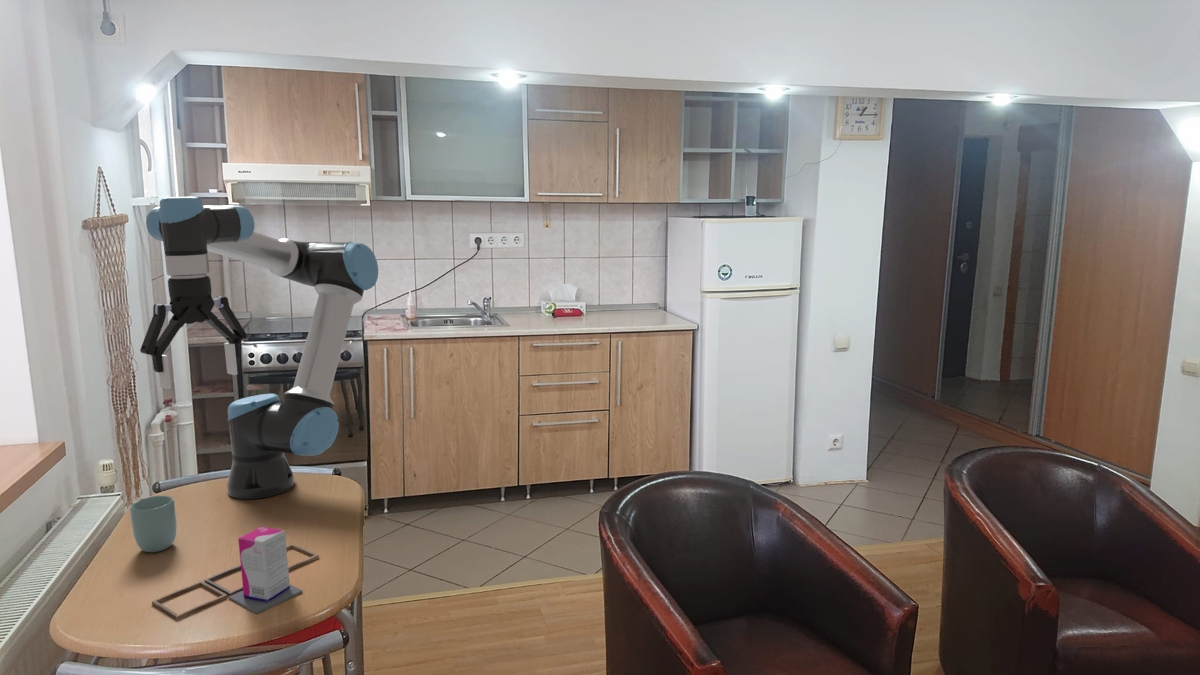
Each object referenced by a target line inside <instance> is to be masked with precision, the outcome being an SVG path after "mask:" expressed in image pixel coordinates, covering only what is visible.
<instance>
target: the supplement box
mask: <svg viewBox="0 0 1200 675" xmlns="http://www.w3.org/2000/svg"><path fill="white" fill-rule="evenodd" d="M237 539H238V548H239V549H238V551H239V558H240V559H239V560H240V565H241V569H240V571H241V580H242V581H241V582H242V587H243V594H244V598H248V599H253V600H258V601H263V602H270V601H271V600H273V599H274V598H276V597H277V596H279V595H280V594H282V593H283V592H285V591H286V590H288V589H289V588H290V584H291V583H290V573H289V572H290V571H288V567H289V564H288V563H289V562H288V552H287V551H288V550H287V549H286V546H287V541H286V540H287V539H286V531H285V530H284V529H278V528H271V527H266V526H265V527H264V526H259V527H257V528H256V529H254V530H252V531H250V532H248V533H246V534H244V535H242V536H240V537H238V538H237Z"/></svg>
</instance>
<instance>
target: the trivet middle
mask: <svg viewBox="0 0 1200 675" xmlns="http://www.w3.org/2000/svg"><path fill="white" fill-rule="evenodd" d="M239 570H241V564H239V565H236V566H234V567H231V568H230V569H227V570H224V571H222V572H220V573H216V574H215V575H213V576H210V577H206V578H205V579H203V580H204V581H203V582H205V583H207V584H208V585H210V586H212V587H214V588H216V589H218V590H219V591H221V592H223V593H225V594H227V597H229V596H231V595H234V594H236V593H238V592H240V591H243V586H241V587H239V588H237V589H234V590H229V589H227V588H225V587H223V586H221V585H219V584H218V583H216V582H214V581H215V580H217V579H220V578H222V577H224V576H227V575H229V574H232V573H235V572H237V571H239Z"/></svg>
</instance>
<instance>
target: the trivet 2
mask: <svg viewBox="0 0 1200 675" xmlns="http://www.w3.org/2000/svg"><path fill="white" fill-rule="evenodd" d="M286 549H287V551H288V550H289V549H294V550H296V551H299V552H301V553H303V554H306V555H307V556H310V557H308V558H305V559H303V560H301V561H299V562H297V563H293V564H292V565H288V571H289V572H290V571H292V570H294V569H297V568H299V567H301V566H303V565H305V564H307V563H310V562H312V561H314V560H317V559H319V558H320V555H319V553H315V552H314V551H311V550H309V549H306V548H303V547H301V546H299V545H297V544H294V543H290V544H288V545H286Z"/></svg>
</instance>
